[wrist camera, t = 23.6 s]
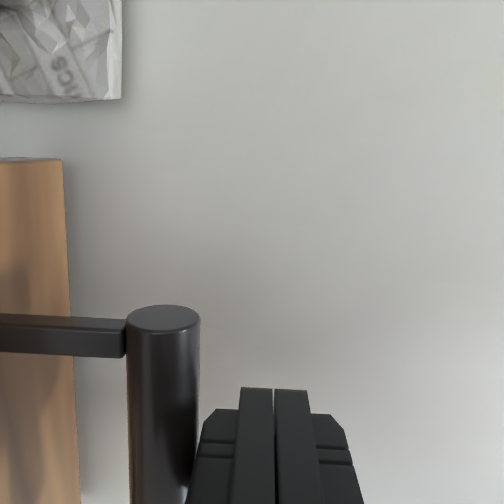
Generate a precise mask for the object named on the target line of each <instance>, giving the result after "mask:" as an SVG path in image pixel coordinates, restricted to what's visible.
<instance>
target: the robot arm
mask: <svg viewBox="0 0 504 504" xmlns="http://www.w3.org/2000/svg"><path fill="white" fill-rule="evenodd" d="M185 504H364V502H363V498H362V494H361V491H360V487H359V484H358V480H357V476H356V473H355V469H354V466H353V462H352V458H351V454H350V451H349V450H348V444H347V440H346V436H345V433H344V429H343V428H342V427H341V426H340V425H339V424H338V423H337V422H336V421H335V419H334V418H333V417H332V416H331V415H329V414H311V412H310V406H309V400H308V394H307V391H306V390H290V389H275V391H274V406H273V393H272V389H268V388H249V387H241V391H240V400H239V409H238V410H233V409H215V411H214V412H213V413H212V414H211V415H210V416H209V417H208V418H207V419H206V420H205V421H204V423H203V427H202V431H201V436H200V442H199V444H198V449H197V453H196V457H195V461H194V466H193V470H192V474H191V479H190V483H189V487H188V492H187V496H186V500H185Z"/></svg>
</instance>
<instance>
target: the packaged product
mask: <svg viewBox="0 0 504 504" xmlns="http://www.w3.org/2000/svg"><path fill="white" fill-rule="evenodd" d="M121 85H122V0H0V101H6V102H25V103H45V104H55V103H69V102H82V101H96V100H109V99H121Z"/></svg>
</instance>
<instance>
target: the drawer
mask: <svg viewBox="0 0 504 504" xmlns="http://www.w3.org/2000/svg"><path fill="white" fill-rule="evenodd" d="M125 354H126V369H127V409H128V450H129V490H130V504H185V500H186V496H187V492H188V487H189V483H190V479H191V474H192V470H193V466H194V461H195V457H196V453H197V449H198V434H199V376H200V316H199V314H198V313H197V312H196V311H194V310H192V309H190V308H187V307H183V306H177V305H154V306H148V307H144V308H140V309H138V310H135V311H133V312H132V313H130V314H129V315H128V316H127V318H126V319H106V318H87V317H71V313H70V295H69V277H68V258H67V240H66V222H65V204H64V186H63V168H62V161H61V160H60V159H50V158H28V157H9V158H0V504H81V494H80V476H79V458H78V440H77V422H76V404H75V385H74V367H73V356H81V357H100V358H119V359H120V358H123V357H124V355H125Z"/></svg>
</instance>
